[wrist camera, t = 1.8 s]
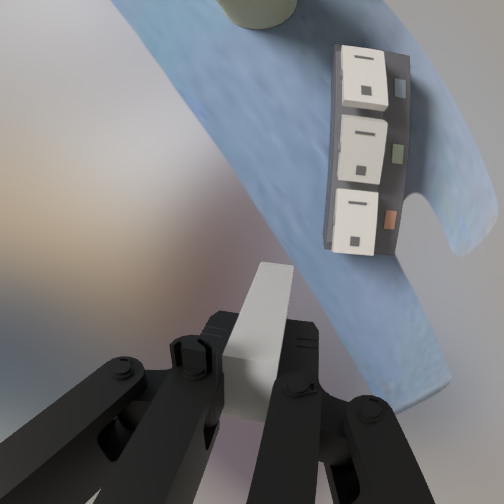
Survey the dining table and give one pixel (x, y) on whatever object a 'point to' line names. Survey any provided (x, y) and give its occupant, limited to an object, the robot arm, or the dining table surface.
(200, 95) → the dining table surface
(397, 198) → the rocker switch panel
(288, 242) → the dining table surface
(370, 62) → the rocker
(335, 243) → the rocker
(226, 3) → the can
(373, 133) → the rocker
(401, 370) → the dining table surface
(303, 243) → the dining table surface
